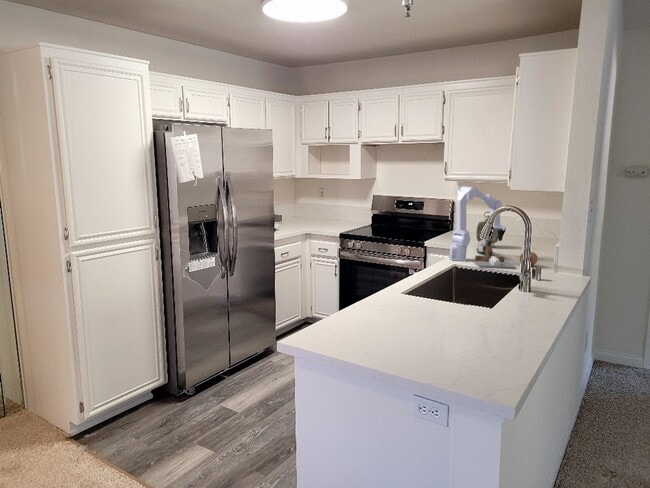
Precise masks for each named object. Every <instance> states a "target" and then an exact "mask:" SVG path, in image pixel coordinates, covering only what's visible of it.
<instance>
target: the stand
mask: <svg viewBox="0 0 650 488" xmlns="http://www.w3.org/2000/svg"><path fill="white" fill-rule="evenodd" d="M473 262H474V264H475V265H476V266H477V267H478V268H481V269H503V270H504V269H505V270H507V269H508V270H516V268H517V267H516V266H515V265H514V264H513V263H511V262H507V261H506V262H505V261H504V262H500V261H499V259H497V258H496V257H495V256H494V255H493V256H491V259H489V262H487V261H475V260H474V261H473Z"/></svg>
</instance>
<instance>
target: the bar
mask: <svg viewBox="0 0 650 488" xmlns="http://www.w3.org/2000/svg"><path fill="white" fill-rule="evenodd" d="M495 257H496V258H497V259H499V261H500V262H505V257H504V256H497V255H496V256H495ZM489 259H491V256H486V255H476V254H475V257H474V261H487V262H489Z"/></svg>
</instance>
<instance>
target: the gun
mask: <svg viewBox="0 0 650 488" xmlns="http://www.w3.org/2000/svg"><path fill="white" fill-rule="evenodd" d="M477 242H478V243H477V246H476V252H477V253H478V254H485V256H494V252H493V247H492V245H493V244H492V242H493V240H491V239H489V240H483V239H480V240H479V241H477Z"/></svg>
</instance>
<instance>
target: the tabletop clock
mask: <svg viewBox="0 0 650 488" xmlns="http://www.w3.org/2000/svg"><path fill="white" fill-rule="evenodd" d="M486 214H490V211H485V212H484V213H483V217H485V219H484V221H479V222H478V223H477V225H476V226H477V227H476V230H475V231H476V232H475V233H476V240H477V242H479V240H480V239H481V238H480V234H481V231H482V229H483V227H484V226H485V224H486V223H487V221H488V219H489V217H490V215H488V216H486ZM497 230H499V229H493V234H492V239H491V240H493V242H492V245H493V248H494V249H496V248H497V246H496V245H495V244H496V243H498V242H499V238H498V232H497Z"/></svg>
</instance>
